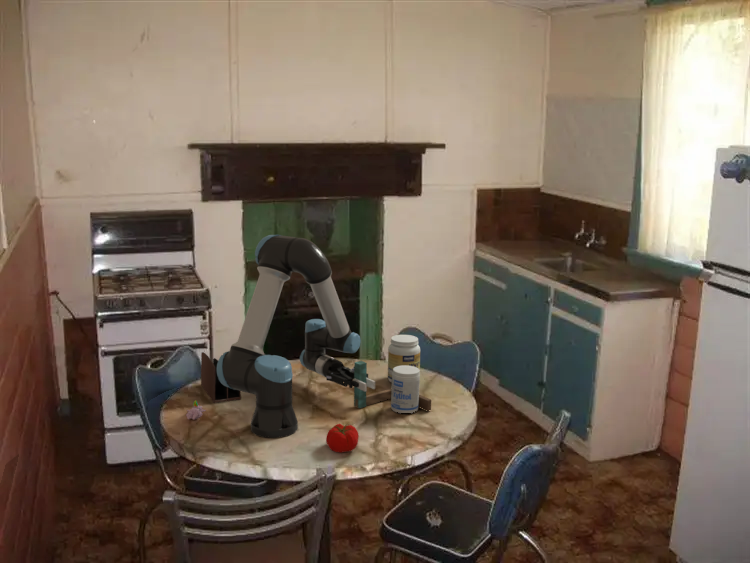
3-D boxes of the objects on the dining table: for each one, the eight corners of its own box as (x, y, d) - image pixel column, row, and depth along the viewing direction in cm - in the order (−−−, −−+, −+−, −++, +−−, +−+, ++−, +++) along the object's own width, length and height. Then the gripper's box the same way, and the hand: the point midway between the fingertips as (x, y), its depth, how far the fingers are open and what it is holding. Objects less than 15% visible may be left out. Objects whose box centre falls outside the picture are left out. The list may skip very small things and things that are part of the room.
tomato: (359, 441, 245) (359, 421, 244) (357, 456, 234) (357, 436, 233) (328, 440, 245) (328, 420, 244) (324, 455, 235) (324, 435, 233)
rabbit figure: (189, 413, 267) (181, 424, 252) (189, 396, 267) (181, 406, 252) (207, 413, 268) (200, 424, 253) (207, 396, 267) (200, 406, 253)
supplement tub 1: (403, 388, 291) (404, 344, 287) (381, 379, 300) (381, 337, 296) (425, 381, 299) (427, 338, 295) (403, 373, 308) (404, 331, 304)
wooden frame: (395, 394, 284) (396, 352, 280) (430, 410, 269) (432, 366, 266) (353, 405, 272) (354, 362, 269) (388, 423, 258) (389, 377, 254)
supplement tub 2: (390, 414, 266) (391, 373, 263) (391, 404, 276) (392, 364, 272) (418, 415, 266) (420, 374, 263) (418, 405, 275) (420, 365, 272)
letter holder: (213, 403, 273) (212, 365, 270) (200, 385, 291) (199, 349, 288) (241, 399, 277) (240, 362, 274) (227, 382, 295) (226, 346, 292)
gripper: (347, 373, 290) (388, 391, 272) (311, 382, 280) (351, 401, 262) (348, 354, 288) (388, 371, 270) (311, 362, 278) (351, 380, 260)
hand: (369, 386), depth 266 cm, fingers closed on wooden frame, 3 cm apart
